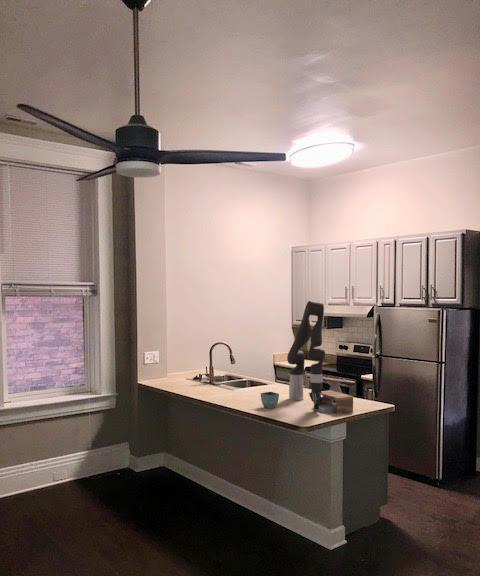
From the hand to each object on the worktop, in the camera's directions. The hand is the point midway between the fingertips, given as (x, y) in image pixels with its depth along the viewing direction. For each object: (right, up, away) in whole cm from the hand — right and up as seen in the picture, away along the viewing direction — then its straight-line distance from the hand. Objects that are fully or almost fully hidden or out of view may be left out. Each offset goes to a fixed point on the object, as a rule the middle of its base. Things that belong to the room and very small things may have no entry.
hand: (316, 409), depth 308 cm
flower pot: (-28, -2, +10) cm, 30 cm away
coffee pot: (+15, -2, +36) cm, 39 cm away
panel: (+8, -2, +4) cm, 9 cm away
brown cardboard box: (+12, -1, +6) cm, 14 cm away
